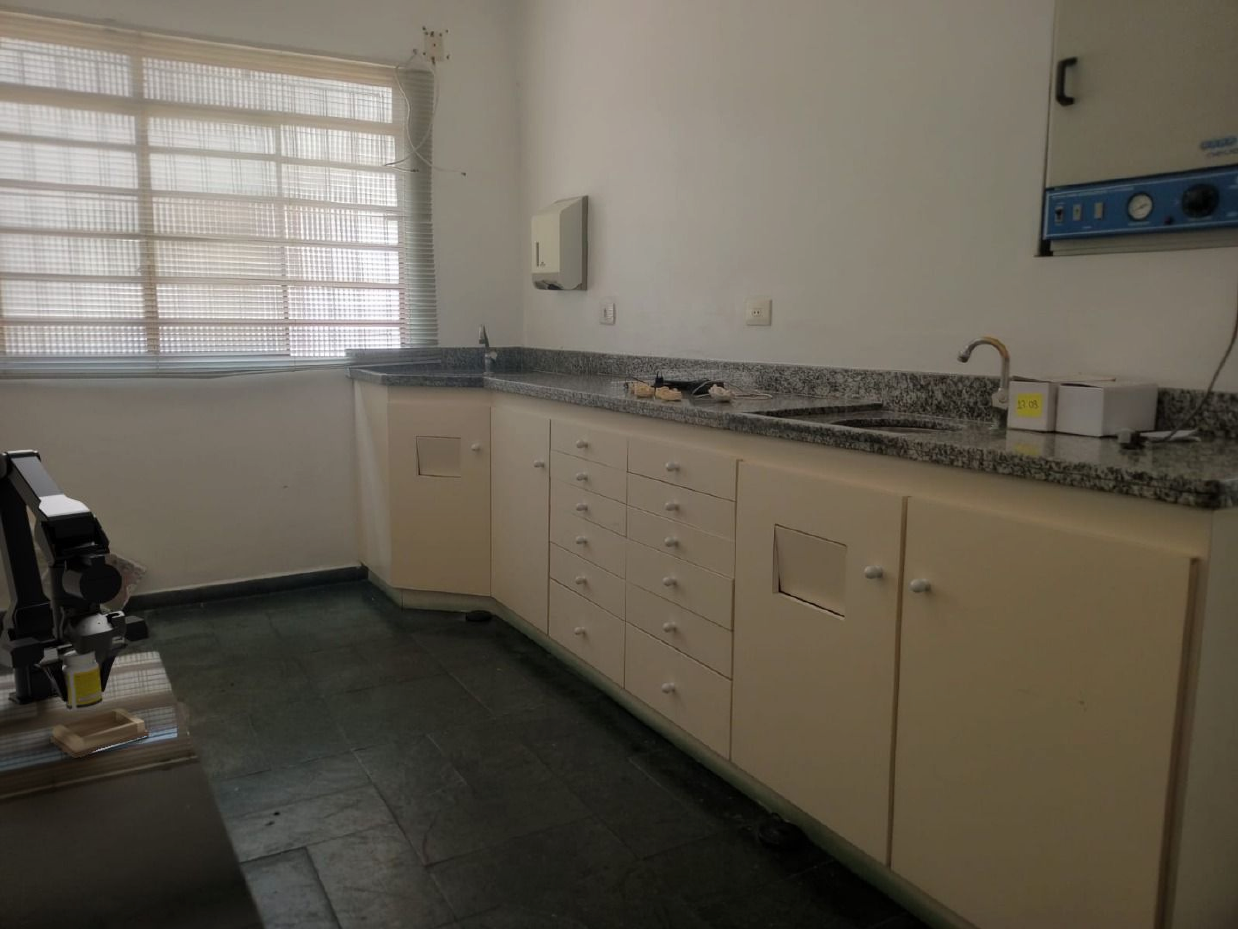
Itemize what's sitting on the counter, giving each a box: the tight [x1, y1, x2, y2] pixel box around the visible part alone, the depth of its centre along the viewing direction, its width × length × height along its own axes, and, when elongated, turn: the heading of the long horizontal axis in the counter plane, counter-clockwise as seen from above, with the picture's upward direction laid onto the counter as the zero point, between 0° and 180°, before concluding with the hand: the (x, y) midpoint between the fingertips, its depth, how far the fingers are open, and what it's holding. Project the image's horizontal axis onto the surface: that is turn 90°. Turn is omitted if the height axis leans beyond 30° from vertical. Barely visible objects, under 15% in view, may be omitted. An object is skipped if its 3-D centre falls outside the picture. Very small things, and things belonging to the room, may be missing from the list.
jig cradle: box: [50, 707, 150, 759], centre depth 135 cm, size 10×10×2 cm
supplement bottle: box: [62, 649, 104, 713], centre depth 142 cm, size 5×5×8 cm
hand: (83, 696), depth 142 cm, fingers closed on supplement bottle, 5 cm apart
